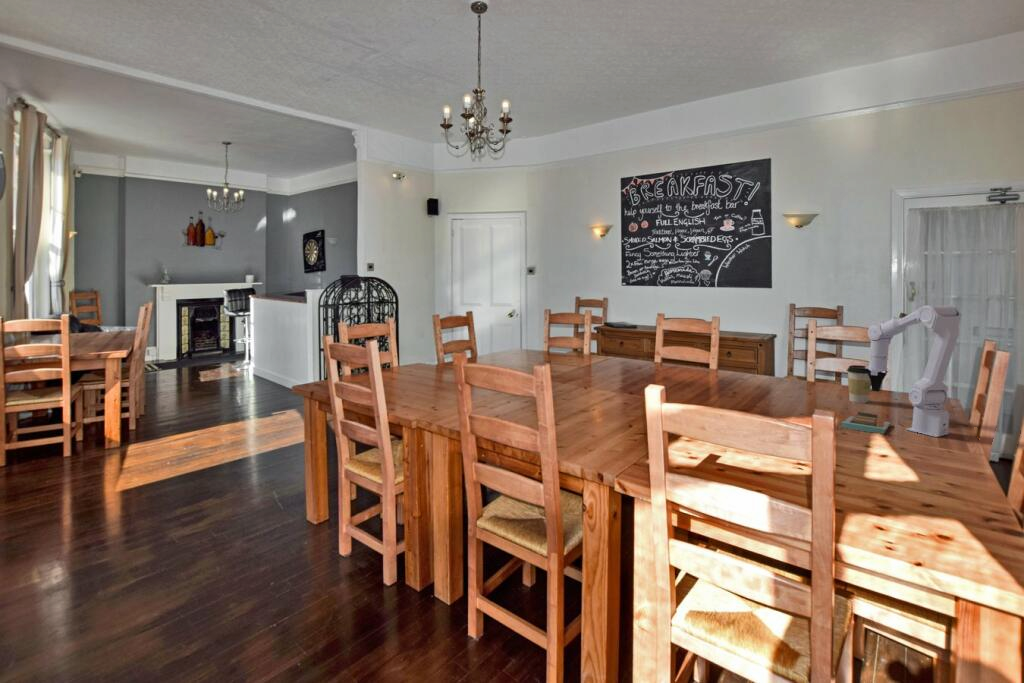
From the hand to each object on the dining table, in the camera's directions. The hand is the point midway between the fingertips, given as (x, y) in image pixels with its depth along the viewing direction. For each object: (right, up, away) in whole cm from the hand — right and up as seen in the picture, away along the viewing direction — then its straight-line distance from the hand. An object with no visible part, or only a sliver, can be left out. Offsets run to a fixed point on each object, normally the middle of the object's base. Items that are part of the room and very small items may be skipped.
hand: (875, 390), depth 205 cm
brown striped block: (-14, -12, -15) cm, 24 cm away
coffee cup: (+7, -7, +22) cm, 24 cm away
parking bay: (-14, -12, -15) cm, 23 cm away
